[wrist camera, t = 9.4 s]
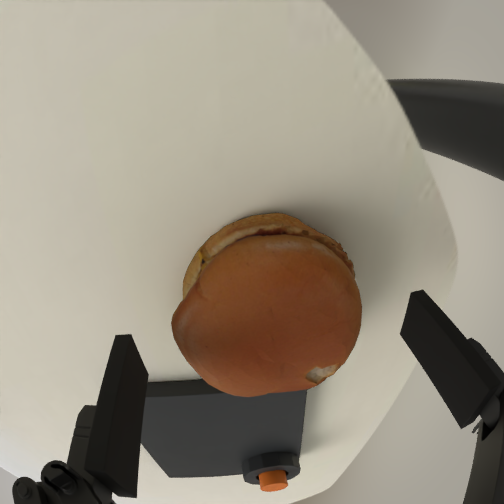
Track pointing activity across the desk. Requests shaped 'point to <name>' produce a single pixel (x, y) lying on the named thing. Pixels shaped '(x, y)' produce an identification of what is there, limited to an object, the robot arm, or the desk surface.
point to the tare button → (273, 480)
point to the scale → (222, 431)
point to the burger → (268, 307)
